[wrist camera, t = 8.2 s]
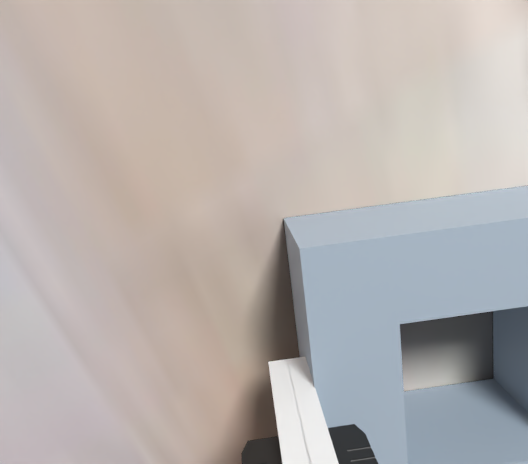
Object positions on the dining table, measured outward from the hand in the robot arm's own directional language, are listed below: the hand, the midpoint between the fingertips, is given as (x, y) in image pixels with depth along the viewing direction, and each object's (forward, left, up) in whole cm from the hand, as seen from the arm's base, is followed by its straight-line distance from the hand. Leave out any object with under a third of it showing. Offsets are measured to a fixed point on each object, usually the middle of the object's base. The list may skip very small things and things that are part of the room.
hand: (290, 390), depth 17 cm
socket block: (+7, 0, -3) cm, 7 cm away
